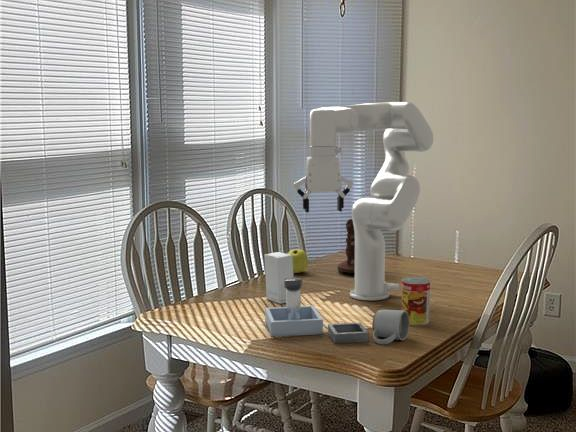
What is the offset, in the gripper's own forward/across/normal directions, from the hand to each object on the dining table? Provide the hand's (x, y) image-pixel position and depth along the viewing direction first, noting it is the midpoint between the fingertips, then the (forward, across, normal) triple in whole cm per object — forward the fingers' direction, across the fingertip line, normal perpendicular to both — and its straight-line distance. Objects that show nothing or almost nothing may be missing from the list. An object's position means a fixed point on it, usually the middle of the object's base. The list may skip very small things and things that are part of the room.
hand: (323, 211), depth 218 cm
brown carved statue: (+31, -22, -49) cm, 62 cm away
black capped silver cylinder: (+30, +11, +13) cm, 34 cm away
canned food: (+31, -24, +13) cm, 41 cm away
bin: (+30, +11, +13) cm, 35 cm away
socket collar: (+30, -2, +24) cm, 39 cm away
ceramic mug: (+31, -12, +27) cm, 43 cm away
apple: (+31, 0, -52) cm, 60 cm away
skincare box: (+31, +11, -16) cm, 36 cm away
